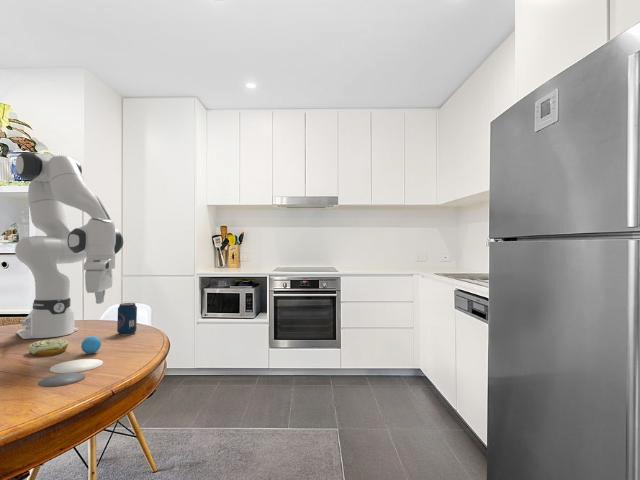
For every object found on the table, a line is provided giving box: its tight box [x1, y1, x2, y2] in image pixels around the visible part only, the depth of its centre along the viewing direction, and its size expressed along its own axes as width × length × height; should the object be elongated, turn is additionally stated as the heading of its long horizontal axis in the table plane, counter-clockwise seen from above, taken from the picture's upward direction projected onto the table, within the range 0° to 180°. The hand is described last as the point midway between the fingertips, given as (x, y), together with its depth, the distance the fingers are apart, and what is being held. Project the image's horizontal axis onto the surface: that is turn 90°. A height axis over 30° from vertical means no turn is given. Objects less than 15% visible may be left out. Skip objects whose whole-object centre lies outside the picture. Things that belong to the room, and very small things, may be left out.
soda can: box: [116, 302, 138, 336], centre depth 152 cm, size 7×7×12 cm
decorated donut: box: [28, 338, 69, 357], centre depth 123 cm, size 10×11×4 cm
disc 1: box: [38, 372, 86, 388], centre depth 97 cm, size 10×10×1 cm
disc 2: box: [49, 358, 104, 374], centre depth 109 cm, size 13×13×1 cm
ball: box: [80, 335, 102, 355], centre depth 122 cm, size 6×6×6 cm
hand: (99, 303), depth 132 cm, fingers closed
